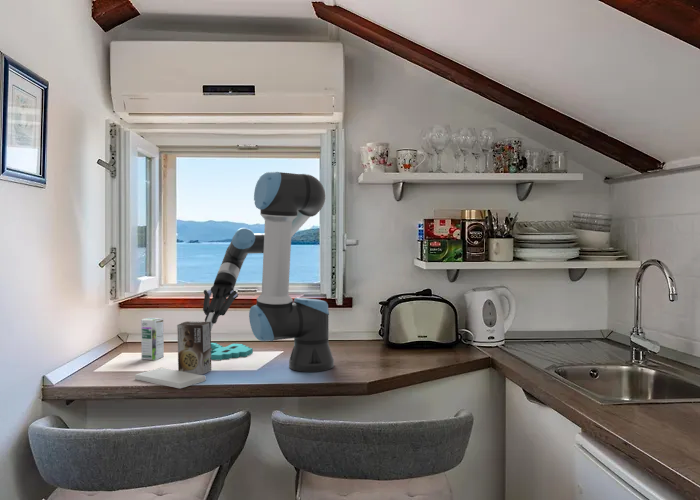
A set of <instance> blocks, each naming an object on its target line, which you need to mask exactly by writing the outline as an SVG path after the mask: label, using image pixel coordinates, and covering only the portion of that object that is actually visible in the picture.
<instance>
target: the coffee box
mask: <svg viewBox="0 0 700 500" xmlns="http://www.w3.org/2000/svg"><path fill="white" fill-rule="evenodd" d="M176 328H177V329H176V331H177V366H178V367H177V368H178V369H177V371H182V372H188V373H193V374H198V375H205V374H207V373H209V372H211V371H212V360H211V350H212V348H211V343H212V334H211V333H212V332H211V331H212V329H211V322H205V321H184V322H181V323H179V324H177V325H176Z"/></svg>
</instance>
